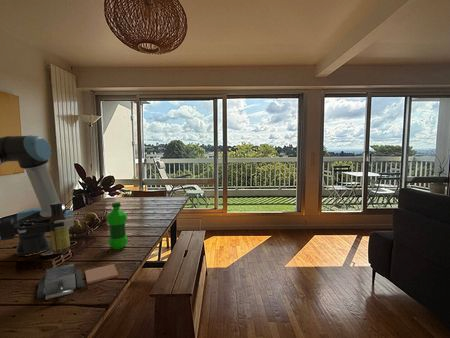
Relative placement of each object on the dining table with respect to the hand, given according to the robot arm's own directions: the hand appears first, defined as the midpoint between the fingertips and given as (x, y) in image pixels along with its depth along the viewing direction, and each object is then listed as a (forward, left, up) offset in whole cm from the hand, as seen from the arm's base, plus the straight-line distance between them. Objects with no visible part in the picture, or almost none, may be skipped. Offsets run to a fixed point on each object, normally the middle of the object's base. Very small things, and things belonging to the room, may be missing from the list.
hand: (73, 220), depth 108 cm
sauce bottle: (0, -5, -12) cm, 13 cm away
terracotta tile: (0, +9, -26) cm, 27 cm away
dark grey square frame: (+3, -6, -26) cm, 27 cm away
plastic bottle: (-29, +21, -26) cm, 45 cm away
